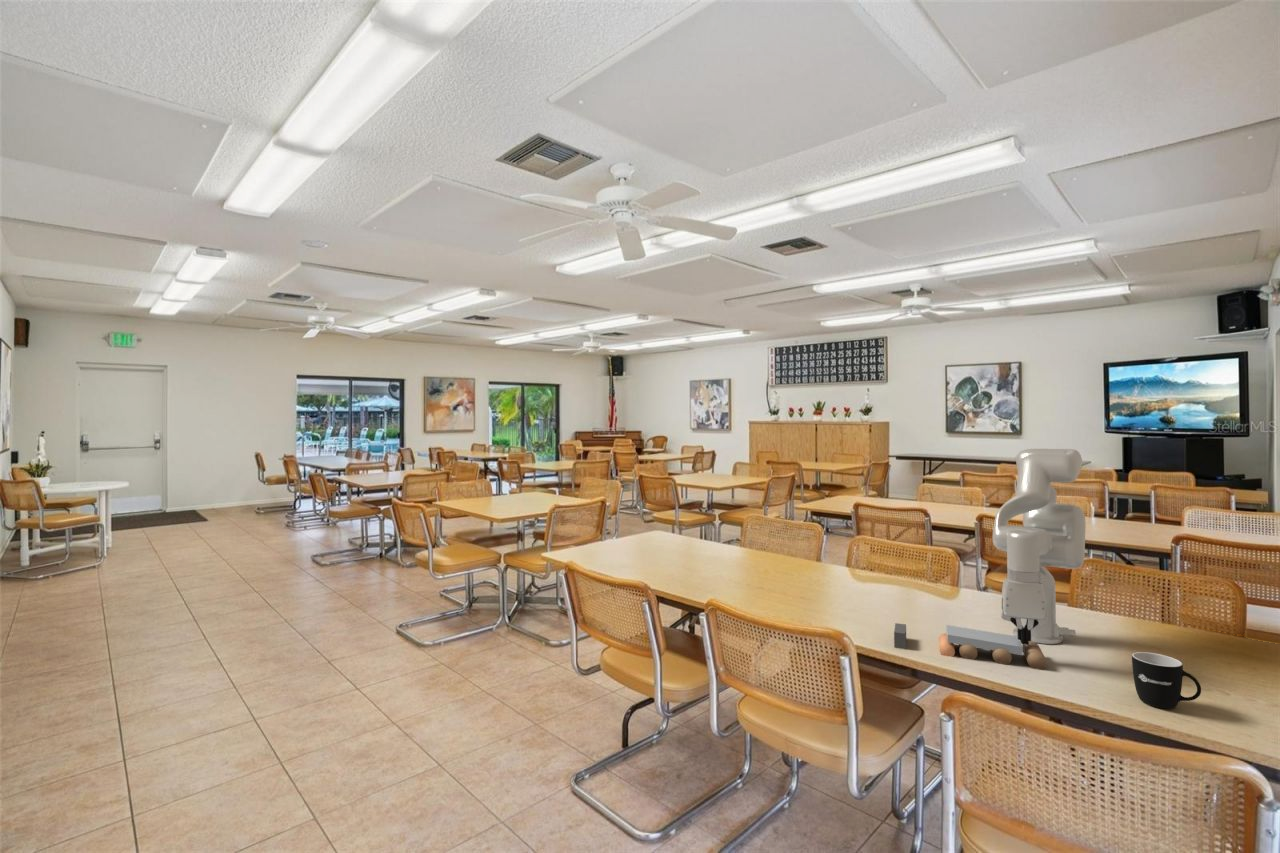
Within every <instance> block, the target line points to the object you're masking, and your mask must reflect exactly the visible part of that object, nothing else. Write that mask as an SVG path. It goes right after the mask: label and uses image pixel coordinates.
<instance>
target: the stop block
mask: <svg viewBox="0 0 1280 853" xmlns="http://www.w3.org/2000/svg"><path fill="white" fill-rule="evenodd" d="M893 640H894V641H893V642H894V643H893V644H894V648H895V649H899V650H900V649H902V650H906V649H907V624H906V623H897V622H896V623H895V624H894V630H893Z"/></svg>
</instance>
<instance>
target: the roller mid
mask: <svg viewBox="0 0 1280 853" xmlns="http://www.w3.org/2000/svg"><path fill="white" fill-rule="evenodd" d="M990 652H991V653H990V654H991V655H992V659H993V660H994V662H995V663H997V664H999V665H1005V666H1006V665H1008V664H1010V663H1011V661H1012V655H1011V654H1012V653H1009V652H1008V651H1007V650H1005V649H1002V648H999V649H996V650H990Z"/></svg>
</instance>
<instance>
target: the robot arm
mask: <svg viewBox="0 0 1280 853" xmlns="http://www.w3.org/2000/svg"><path fill="white" fill-rule="evenodd" d="M1081 455H1082V454H1081V453H1080V452H1079V451H1078V450H1076V449H1072V448H1027V449H1023V450H1020V451H1019V452H1018V453H1017V455H1016V458H1015V463H1016V468H1017V479H1016V480H1017V481H1016V488H1015V495H1014V496H1012V497H1011V498H1010V499H1008V500H1007V501H1005V503H1003V504H1002V506H1000V508H999V509H998V510H997V512H996V514H995V517H994V522H993V523H994V524H993V528H992V544H993V546H994V547H995V548H996V549H998V551H1003V552H1006V562H1007V563H1006V565H1007V566H1006V567H1007V568H1006V569H1007V570H1006V572H1007V576H1006V578H1004V579H1003V581H1002V588H1001V610H1002V612H1001V615H1000V617H1001V619H1002V620H1004V621H1008V622H1011V623H1012V624H1013V625H1014V626H1015V627H1014V628H1013V629H1012V634H1013V636H1017V637H1018V640H1020V642H1021V644H1026V645H1029V641H1033V642H1035V643H1037V644H1045V645H1056V644H1060V643H1062V642H1063V640H1064V639H1063V636H1068V637H1074V638H1075V637H1076V632H1077V631H1076V630H1075V629H1069V627H1063V626H1061V627H1060V626H1059V625H1058V623H1057V608H1056V605H1057V604H1056V603H1057V601H1056V600H1057V599H1056V581H1055V578H1054V576H1053V574H1051V572H1050V571H1049V570H1048V569H1047V568H1046V567H1051V568H1052V567H1053V568H1061V569H1070V570H1077V569H1080V568H1082V566H1083V564H1084V562H1085V554H1086V552H1085V550H1086V529H1087V527H1086V516H1085V512H1084V510H1083V509H1082V508H1081V507H1080V506H1078V505H1073V504H1066V503H1065V504H1064V503H1057V497H1058V493H1057V490H1056V489H1055V487H1054V486H1053V485H1052V483H1061V484H1062V483H1066V484H1069V483H1074V482H1076V481H1077V479H1078V477H1079V475H1080V473H1081V471H1082V468H1083V458H1082V456H1081ZM1019 515H1022V525H1023V526H1019V525H1018V526H1017V525H1008V522H1009V521H1010V520H1012V519H1013V518H1015V517H1017V516H1019Z"/></svg>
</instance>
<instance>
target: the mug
mask: <svg viewBox="0 0 1280 853" xmlns="http://www.w3.org/2000/svg"><path fill="white" fill-rule="evenodd" d="M1183 666H1184V665H1183V662H1181V661H1180V660H1178V659H1176V658H1174V657H1171V656H1168V655H1165V654H1160V653H1156V652H1147V651H1144V652H1143V651H1138V652H1134V653H1132V655H1131V667H1132V676H1133V680H1134V681H1133V682H1134V687H1135V691H1136V694H1137V696H1138V698H1139V699H1140V701H1142V703H1144V704H1147V705H1149V706H1153V707H1155V708H1160V709H1174V708H1176V707H1177V706H1178V704H1179V703H1180V702H1190V701H1194V700H1196V699H1198V698H1199V697H1200V696H1201V693H1202V687H1201V686H1202V685H1201V684H1200V682H1199V681H1198V679H1197V678H1196V677H1195V676H1193V675H1192V674H1191V673H1189V672H1187V671H1185V670H1184V668H1183ZM1184 677H1187V678H1189V679H1190V680H1192V681H1193V682H1194V684H1195V686H1196V692H1195V694H1194V695H1191V696H1183V695H1182V688H1183V678H1184Z"/></svg>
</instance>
